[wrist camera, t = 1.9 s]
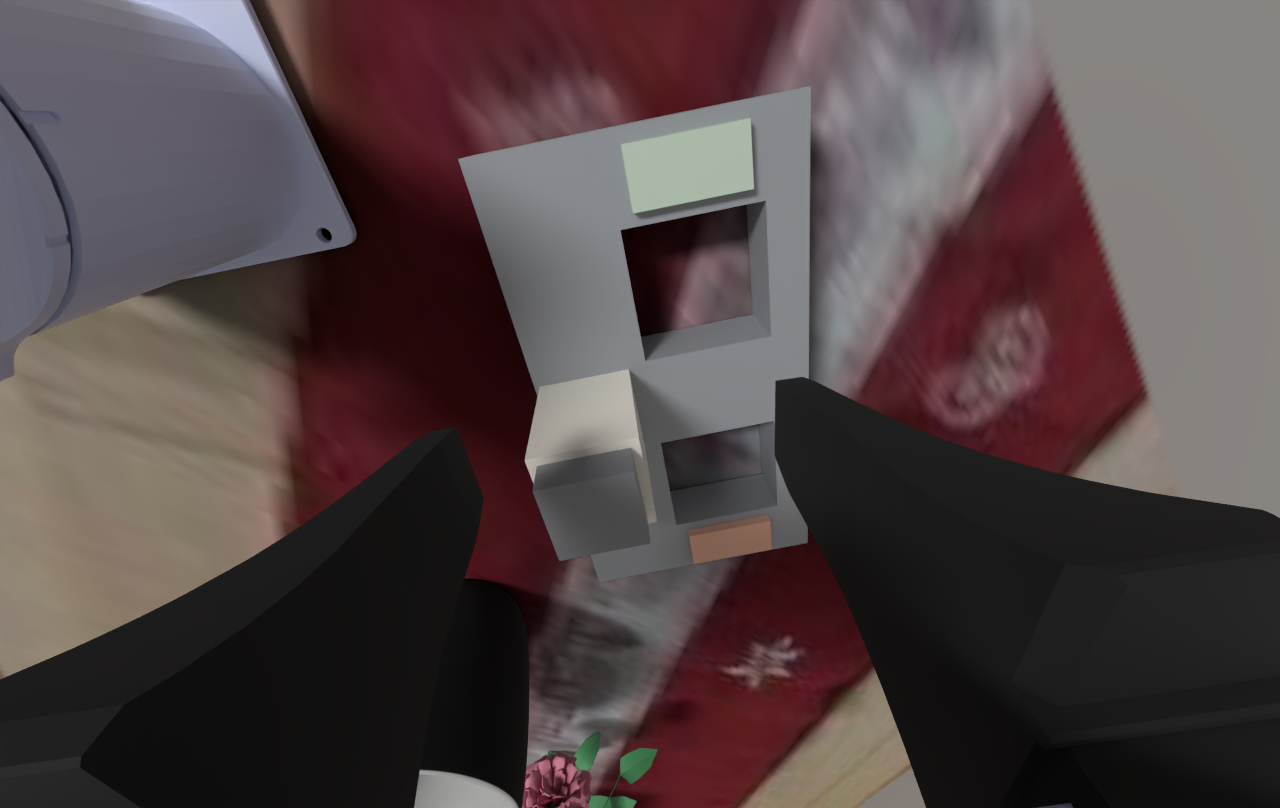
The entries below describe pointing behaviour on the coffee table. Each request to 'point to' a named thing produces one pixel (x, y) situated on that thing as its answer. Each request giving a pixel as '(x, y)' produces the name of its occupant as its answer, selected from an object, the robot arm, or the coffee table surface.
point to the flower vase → (579, 778)
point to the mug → (478, 707)
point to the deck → (605, 311)
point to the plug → (590, 466)
